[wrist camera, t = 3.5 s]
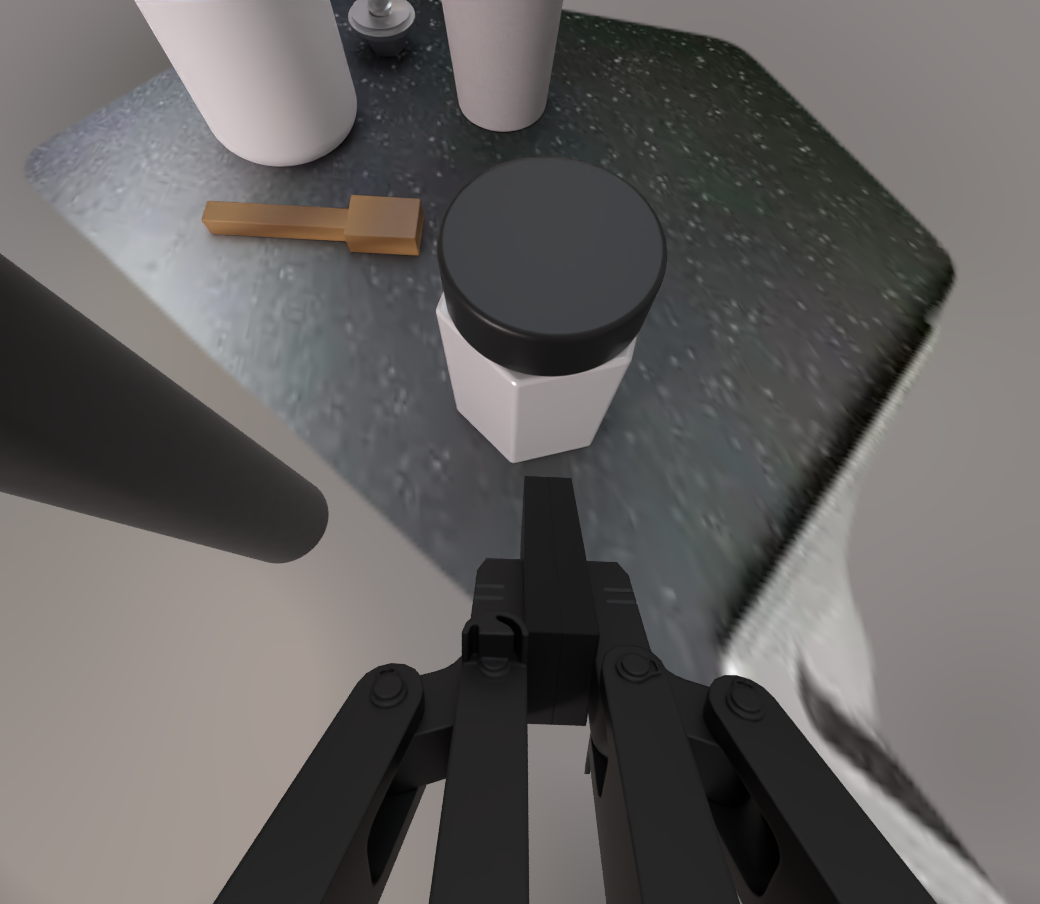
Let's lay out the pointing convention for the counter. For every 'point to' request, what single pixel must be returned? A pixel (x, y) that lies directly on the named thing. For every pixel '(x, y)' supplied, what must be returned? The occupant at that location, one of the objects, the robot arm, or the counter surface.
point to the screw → (382, 24)
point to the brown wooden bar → (327, 222)
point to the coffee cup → (502, 58)
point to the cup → (261, 73)
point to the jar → (544, 299)
